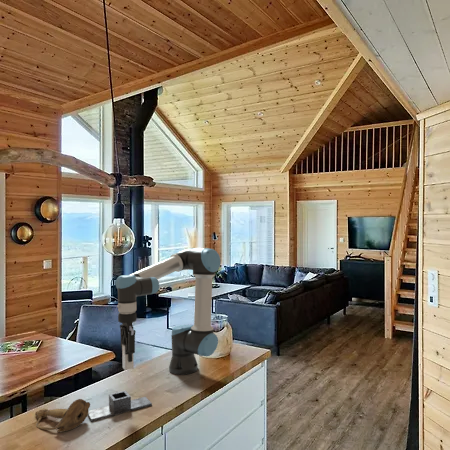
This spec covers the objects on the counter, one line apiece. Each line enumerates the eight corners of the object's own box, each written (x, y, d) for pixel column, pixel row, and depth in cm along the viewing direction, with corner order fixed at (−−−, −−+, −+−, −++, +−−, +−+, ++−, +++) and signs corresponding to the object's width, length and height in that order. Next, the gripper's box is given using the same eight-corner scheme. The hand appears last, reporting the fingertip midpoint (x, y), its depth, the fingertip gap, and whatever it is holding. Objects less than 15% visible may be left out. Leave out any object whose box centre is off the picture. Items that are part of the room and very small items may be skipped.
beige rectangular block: (130, 366, 174) (130, 342, 174) (133, 368, 171) (133, 344, 171) (122, 367, 172) (122, 344, 172) (125, 370, 169) (124, 346, 169)
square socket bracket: (145, 398, 180) (145, 385, 180) (151, 405, 174) (151, 391, 174) (87, 413, 167) (86, 399, 167) (91, 421, 161) (91, 406, 161)
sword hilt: (60, 423, 148) (88, 392, 160) (14, 410, 158) (44, 382, 171) (68, 443, 151) (95, 412, 164) (23, 429, 162) (51, 401, 174)
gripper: (112, 309, 177) (113, 363, 177) (124, 316, 163) (125, 375, 163) (129, 307, 181) (130, 360, 181) (142, 314, 167) (143, 371, 167)
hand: (127, 367), depth 172 cm, fingers closed on beige rectangular block, 4 cm apart
